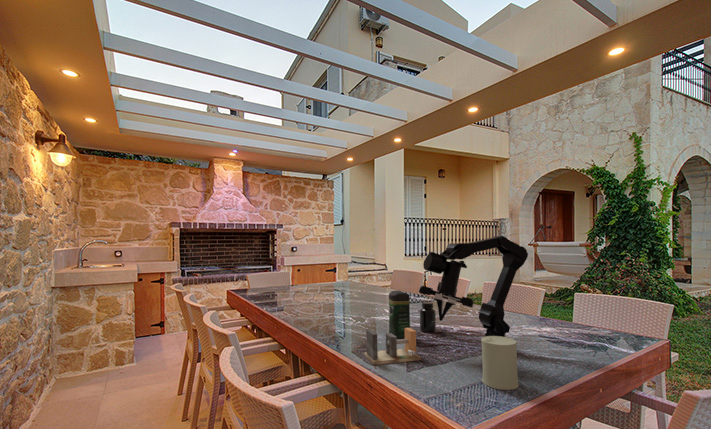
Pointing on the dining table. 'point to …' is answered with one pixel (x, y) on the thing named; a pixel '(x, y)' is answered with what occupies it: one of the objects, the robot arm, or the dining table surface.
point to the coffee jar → (399, 313)
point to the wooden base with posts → (391, 350)
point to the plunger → (409, 340)
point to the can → (499, 362)
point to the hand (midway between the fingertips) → (440, 320)
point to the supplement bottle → (427, 317)
